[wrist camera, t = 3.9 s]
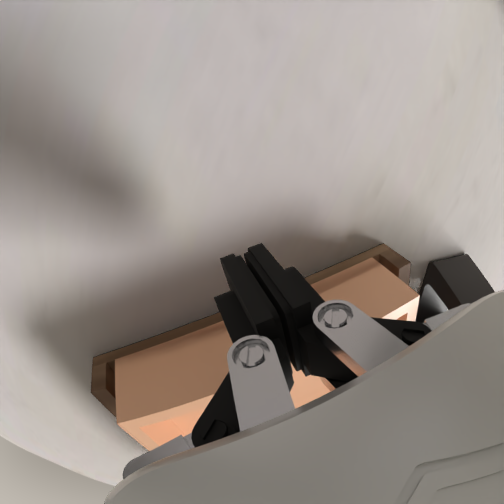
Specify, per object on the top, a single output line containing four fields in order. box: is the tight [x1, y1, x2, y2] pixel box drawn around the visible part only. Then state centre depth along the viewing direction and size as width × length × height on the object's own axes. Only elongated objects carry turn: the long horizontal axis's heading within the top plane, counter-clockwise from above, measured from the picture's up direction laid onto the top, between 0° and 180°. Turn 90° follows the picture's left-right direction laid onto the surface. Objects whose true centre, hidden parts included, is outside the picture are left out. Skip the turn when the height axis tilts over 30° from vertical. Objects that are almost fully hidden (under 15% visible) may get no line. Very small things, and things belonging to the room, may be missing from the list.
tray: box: [91, 243, 411, 418], centre depth 23 cm, size 26×20×4 cm
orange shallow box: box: [115, 257, 420, 451], centre depth 19 cm, size 17×17×4 cm
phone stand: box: [415, 254, 494, 324], centre depth 20 cm, size 9×6×12 cm, turn 177°
